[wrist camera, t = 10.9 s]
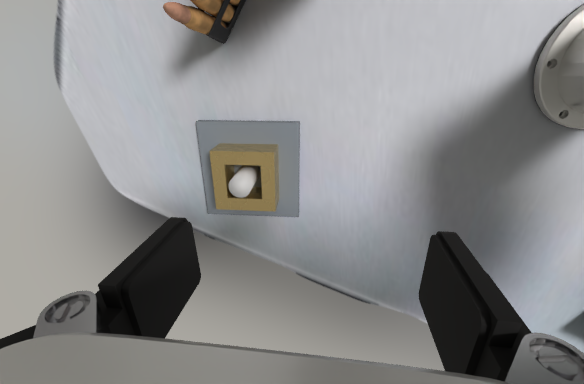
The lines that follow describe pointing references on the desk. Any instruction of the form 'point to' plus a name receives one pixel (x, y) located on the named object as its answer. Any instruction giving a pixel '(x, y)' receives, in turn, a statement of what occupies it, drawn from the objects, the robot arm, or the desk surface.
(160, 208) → the desk surface
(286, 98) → the desk surface
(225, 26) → the ammunition clip
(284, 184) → the post plate
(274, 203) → the collar
